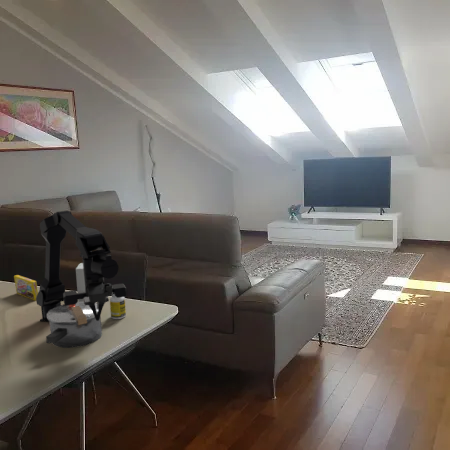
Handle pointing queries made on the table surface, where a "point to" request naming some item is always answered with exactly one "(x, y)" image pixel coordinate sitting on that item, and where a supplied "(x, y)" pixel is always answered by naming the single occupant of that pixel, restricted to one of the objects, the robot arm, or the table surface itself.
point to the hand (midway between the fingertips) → (97, 320)
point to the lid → (71, 314)
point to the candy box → (26, 287)
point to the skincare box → (80, 280)
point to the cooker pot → (74, 333)
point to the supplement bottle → (117, 307)
